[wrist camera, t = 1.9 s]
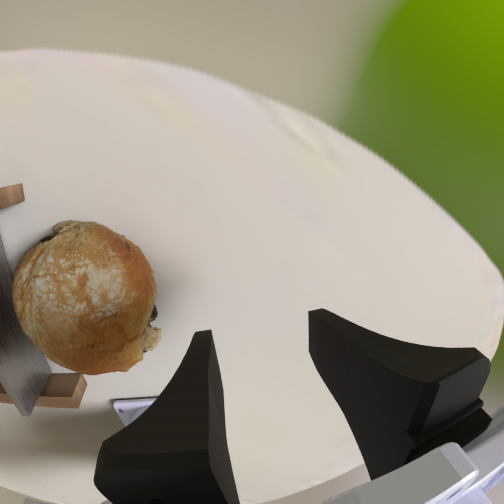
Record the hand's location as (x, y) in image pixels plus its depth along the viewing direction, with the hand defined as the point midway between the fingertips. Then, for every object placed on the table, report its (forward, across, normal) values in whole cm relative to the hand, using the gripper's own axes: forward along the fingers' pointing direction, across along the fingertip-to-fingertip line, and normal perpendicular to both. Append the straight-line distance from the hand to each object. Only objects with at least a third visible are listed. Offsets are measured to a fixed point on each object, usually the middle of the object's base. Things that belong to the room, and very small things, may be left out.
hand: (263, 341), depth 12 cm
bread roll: (+9, +10, 0) cm, 13 cm away
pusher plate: (+8, +17, 0) cm, 19 cm away
